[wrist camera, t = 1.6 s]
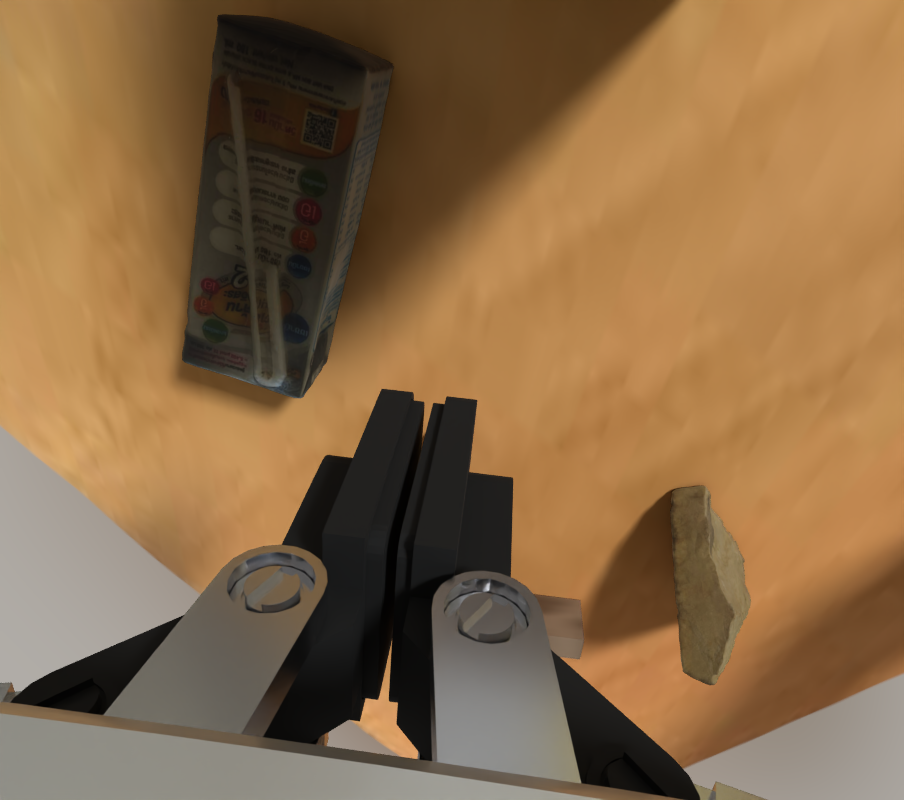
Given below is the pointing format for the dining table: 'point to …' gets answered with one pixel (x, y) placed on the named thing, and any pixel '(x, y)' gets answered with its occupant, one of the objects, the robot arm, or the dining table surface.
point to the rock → (705, 584)
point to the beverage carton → (279, 198)
